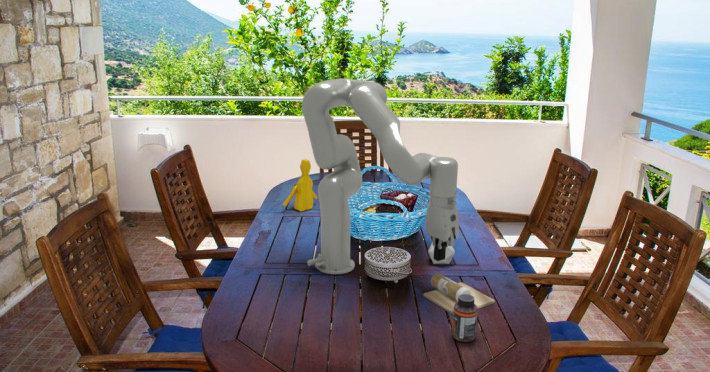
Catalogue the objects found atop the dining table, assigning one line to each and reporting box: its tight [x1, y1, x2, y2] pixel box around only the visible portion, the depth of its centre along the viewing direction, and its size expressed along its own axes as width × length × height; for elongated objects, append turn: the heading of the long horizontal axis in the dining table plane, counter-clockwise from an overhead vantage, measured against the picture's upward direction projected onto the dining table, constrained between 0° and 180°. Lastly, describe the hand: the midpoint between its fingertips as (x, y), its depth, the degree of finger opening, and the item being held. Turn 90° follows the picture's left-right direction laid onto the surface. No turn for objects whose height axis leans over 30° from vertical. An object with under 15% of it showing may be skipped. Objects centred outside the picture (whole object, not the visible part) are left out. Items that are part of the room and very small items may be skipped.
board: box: [422, 281, 496, 315], centre depth 167 cm, size 15×14×1 cm
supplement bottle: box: [451, 294, 479, 343], centre depth 146 cm, size 6×6×11 cm
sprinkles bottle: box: [430, 272, 472, 301], centre depth 168 cm, size 5×5×13 cm
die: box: [427, 241, 456, 265], centre depth 192 cm, size 8×9×10 cm
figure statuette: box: [282, 158, 318, 212], centre depth 240 cm, size 18×8×22 cm, turn 130°
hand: (439, 259), depth 171 cm, fingers closed
